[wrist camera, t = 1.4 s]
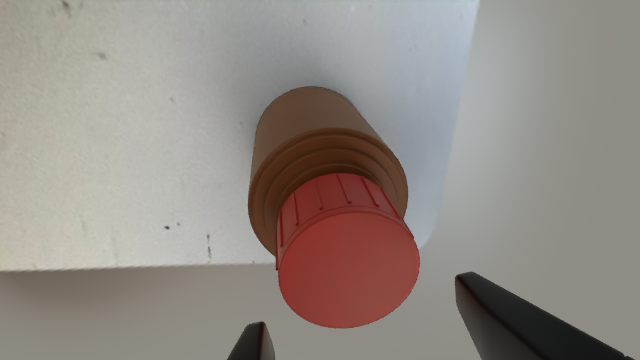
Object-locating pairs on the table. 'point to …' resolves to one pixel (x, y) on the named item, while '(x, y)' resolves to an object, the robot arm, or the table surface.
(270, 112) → the bottle
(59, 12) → the table surface
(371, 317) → the cap
